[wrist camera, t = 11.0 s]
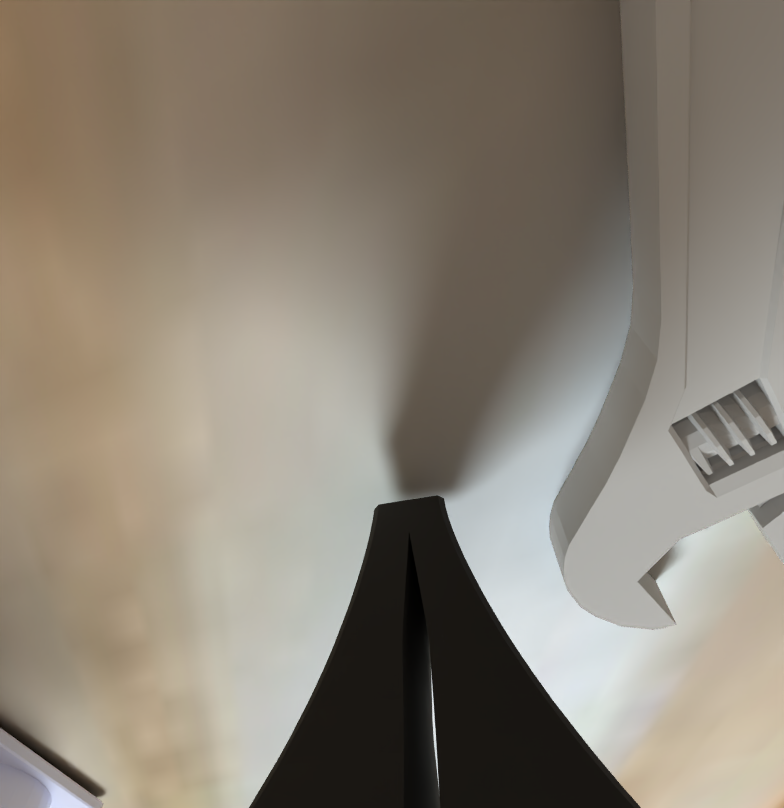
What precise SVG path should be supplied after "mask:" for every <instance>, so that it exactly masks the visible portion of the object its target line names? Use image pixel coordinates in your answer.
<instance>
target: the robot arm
mask: <svg viewBox="0 0 784 808" xmlns="http://www.w3.org/2000/svg"><path fill="white" fill-rule="evenodd" d="M431 671H432V684H433V698H434V713H435V728H436V742H437V759H438V776H439V787H438V778H437V768H436V759H435V750H434V739H433V723H432V689H431ZM439 794H440V796H439ZM102 807H103V803H102V801H101V800H99V799H98V798H97V797H95V796H94V795H92V794H91V793H90V792H88V791H87V790H86V789H84V788H83V787H81V786H80V785H79V784H77V783H76V782H75V781H73V780H72V779H70V778H69V777H68V776H66V775H65V774H64V773H62V772H61V771H59V770H58V769H57V768H55V767H54V766H52V765H51V764H50V763H48V762H47V761H46V760H44V759H43V758H41V757H40V756H39V755H37V754H36V753H35V752H33V751H32V750H30V749H29V748H28V747H26V746H25V745H24V744H22V743H21V742H19V741H18V740H17V739H15V738H14V737H13V736H11V735H10V734H8V733H7V732H6V731H4V730H3V729H2V728H0V808H102ZM249 808H641V807H640V806H639V805H638V804H637V803H636V802H635V801H634V799H633V798H632V797H631V796H630V795H629V794H628V793H627V791H626V790H625V789H624V788H623V787H622V786H621V785H620V783H619V782H618V781H617V780H616V779H615V777H614V776H613V775H612V774H611V773H610V771H609V770H608V769H607V768H606V767H605V765H604V764H603V763H602V762H601V761H600V760H599V758H598V757H597V756H596V755H595V754H594V752H593V751H592V750H591V749H590V747H589V746H588V745H587V744H586V742H585V741H584V740H583V738H582V737H581V736H580V735H579V733H578V732H577V731H576V729H575V728H574V727H573V726H572V724H571V723H570V722H569V721H568V719H567V718H566V717H565V715H564V714H563V713H562V712H561V710H560V709H559V708H558V706H557V705H556V704H555V703H554V701H553V700H552V699H551V697H550V696H549V694H548V693H547V692H546V690H545V689H544V687H543V686H542V685H541V683H540V682H539V681H538V679H537V678H536V676H535V675H534V674H533V672H532V671H531V669H530V668H529V666H528V665H527V663H526V662H525V660H524V659H523V657H522V656H521V655H520V653H519V652H518V650H517V649H516V647H515V645H514V644H513V642H512V641H511V639H510V638H509V636H508V635H507V633H506V631H505V630H504V628H503V627H502V625H501V623H500V622H499V620H498V618H497V617H496V615H495V613H494V612H493V610H492V608H491V606H490V605H489V603H488V601H487V599H486V598H485V596H484V594H483V592H482V591H481V589H480V587H479V585H478V583H477V581H476V579H475V577H474V575H473V573H472V571H471V569H470V567H469V566H468V564H467V561H466V559H465V557H464V555H463V553H462V551H461V549H460V546H459V544H458V541H457V539H456V537H455V534H454V532H453V529H452V526H451V524H450V521H449V518H448V514H447V511H446V507H445V502H444V498H442V497H440V496H438V495H437V496H431V497H424V498H418V499H412V500H405V501H399V502H393V503H386V504H380V505H378V506H377V507H376V508H375V509H374V516H373V522H372V527H371V532H370V536H369V541H368V545H367V549H366V552H365V556H364V560H363V563H362V567H361V570H360V573H359V576H358V580H357V583H356V586H355V589H354V592H353V595H352V598H351V601H350V604H349V607H348V610H347V612H346V615H345V618H344V620H343V623H342V625H341V628H340V631H339V633H338V636H337V639H336V641H335V644H334V646H333V649H332V651H331V653H330V656H329V658H328V660H327V663H326V665H325V667H324V670H323V672H322V674H321V676H320V678H319V681H318V683H317V685H316V687H315V689H314V691H313V693H312V695H311V698H310V700H309V702H308V704H307V706H306V708H305V709H304V711H303V713H302V715H301V717H300V719H299V721H298V723H297V725H296V727H295V729H294V731H293V733H292V735H291V737H290V738H289V740H288V742H287V744H286V746H285V748H284V749H283V751H282V753H281V755H280V757H279V758H278V760H277V762H276V764H275V765H274V767H273V769H272V770H271V772H270V774H269V775H268V777H267V779H266V780H265V782H264V784H263V785H262V787H261V789H260V790H259V792H258V794H257V795H256V797H255V799H254V800H253V802H252V804H251V805H250V807H249Z"/></svg>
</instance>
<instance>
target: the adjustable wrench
mask: <svg viewBox="0 0 784 808" xmlns="http://www.w3.org/2000/svg"><path fill="white" fill-rule="evenodd" d="M620 18H621V39H622V61H623V82H624V103H625V125H626V146H627V167H628V188H629V210H630V231H631V252H632V274H633V294H632V309H631V323H630V328H629V332H628V336H627V339H626V343H625V347H624V351H623V354H622V358H621V362H620V365H619V367H618V370H617V372H616V375H615V377H614V380H613V382H612V385H611V387H610V390H609V392H608V395H607V397H606V400H605V402H604V405H603V408H602V410H601V413H600V415H599V417H598V420H597V422H596V424H595V426H594V428H593V430H592V432H591V434H590V437H589V439H588V441H587V443H586V445H585V446H584V448H583V450H582V452H581V454H580V456H579V457H578V459H577V461H576V463H575V465H574V466H573V468H572V470H571V472H570V474H569V475H568V477H567V479H566V481H565V483H564V485H563V486H562V488H561V490H560V492H559V494H558V495H557V497H556V499H555V501H554V503H553V507H552V510H551V514H550V523H549V531H550V539H551V542H552V545H553V548H554V552H555V555H556V558H557V561H558V564H559V567H560V570H561V573H562V576H563V579H564V582H565V585H566V587H567V590H568V592H569V593H570V594H571V596H572V597H573V598H574V599H575V601H576V602H577V603H578V605H579V606H580V607H581V608H583V609H584V610H586V611H588V612H589V613H591V614H592V615H594V616H595V617H598V618H601V619H603V620H606V621H609V622H611V623H614V624H617V625H619V626H623V627H632V628H641V629H651V630H654V629H661V628H666V627H669V626H673V625H676V623H675V621H674V619H673V616H672V614H671V612H670V610H669V608H668V606H667V604H666V602H665V600H664V598H663V596H662V594H661V591H660V589H659V587H658V585H657V583H656V581H655V580H654V579H653V578H652V576H651V575H650V574H649V573H648V572H647V571H648V570H649V569H650V568H651V567H652V566H653V565H654V564H656V563H657V562H658V561H659V560H660V559H661V558H662V557H663V556H664V555H665V554H666V553H667V552H668V551H669V550H670V549H671V548H672V547H673V546H674V545H675V544H676V543H677V542H678V541H679V540H680V539H682V538H684V537H686V536H689V535H691V534H694V533H696V532H698V531H701V530H703V529H705V528H708V527H710V526H712V525H714V524H717V523H719V522H721V521H723V520H725V519H728V518H730V517H732V516H734V515H736V514H739V513H741V512H743V511H745V510H748V512H749V513H750V515H751V517H752V518H753V520H754V521H755V523H756V525H757V526H758V528H759V529H760V531H761V533H762V534H763V536H764V537H765V539H766V540H767V542H768V543H769V544H770V546H771V547H772V549H773V550H774V551H775V553H776V554H777V556H778V557H779V558H780V560H781V561H782V563H783V564H784V0H620Z"/></svg>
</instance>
